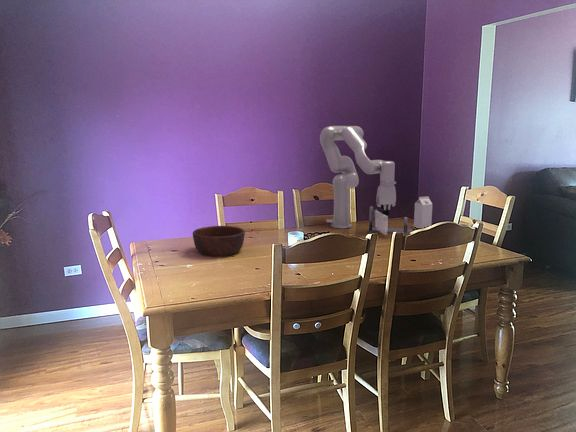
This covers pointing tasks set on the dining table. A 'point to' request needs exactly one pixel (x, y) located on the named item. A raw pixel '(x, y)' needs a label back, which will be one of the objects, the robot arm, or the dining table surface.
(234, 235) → the wooden bowl
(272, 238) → the dining table surface
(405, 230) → the gate base
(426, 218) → the milk carton
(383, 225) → the gate
